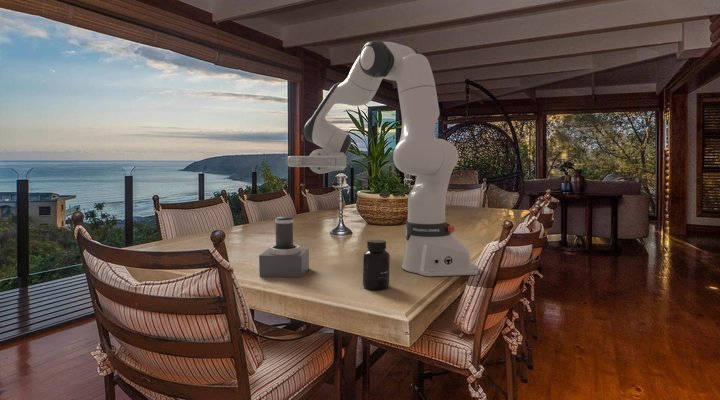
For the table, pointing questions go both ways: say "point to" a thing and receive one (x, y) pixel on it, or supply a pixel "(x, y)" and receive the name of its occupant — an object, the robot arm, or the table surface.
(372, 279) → the supplement bottle
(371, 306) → the table surface
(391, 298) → the table surface
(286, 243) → the lens
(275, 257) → the camera body block
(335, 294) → the table surface
